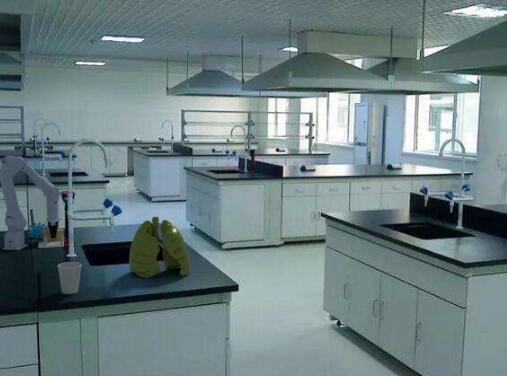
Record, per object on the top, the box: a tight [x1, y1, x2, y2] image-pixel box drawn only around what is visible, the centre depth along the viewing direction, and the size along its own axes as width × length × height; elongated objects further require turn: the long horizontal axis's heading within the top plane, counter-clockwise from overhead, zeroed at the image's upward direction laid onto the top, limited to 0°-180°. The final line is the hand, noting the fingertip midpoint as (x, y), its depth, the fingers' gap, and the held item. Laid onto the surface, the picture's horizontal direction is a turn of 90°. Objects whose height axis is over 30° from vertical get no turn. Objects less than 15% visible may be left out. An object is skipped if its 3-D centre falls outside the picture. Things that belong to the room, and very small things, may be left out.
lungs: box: [128, 216, 191, 279], centre depth 228 cm, size 25×16×24 cm, turn 105°
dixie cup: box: [57, 261, 82, 295], centre depth 202 cm, size 8×8×10 cm
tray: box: [37, 235, 65, 249], centre depth 274 cm, size 14×10×4 cm
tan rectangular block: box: [42, 228, 65, 242], centre depth 282 cm, size 10×4×6 cm, turn 110°
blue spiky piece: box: [27, 222, 48, 240], centre depth 291 cm, size 11×6×10 cm
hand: (53, 236), depth 282 cm, fingers open, 7 cm apart
